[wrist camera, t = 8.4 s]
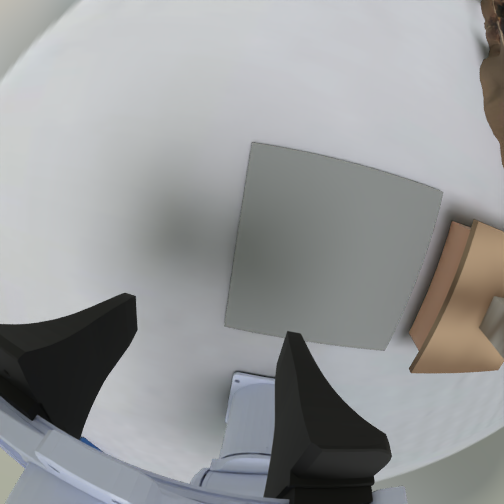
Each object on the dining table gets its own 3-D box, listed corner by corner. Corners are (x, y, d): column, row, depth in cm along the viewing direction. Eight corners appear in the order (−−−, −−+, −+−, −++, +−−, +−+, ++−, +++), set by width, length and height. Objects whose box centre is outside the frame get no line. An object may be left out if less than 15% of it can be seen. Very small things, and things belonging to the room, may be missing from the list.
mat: (383, 347, 23) (384, 350, 23) (225, 323, 24) (224, 326, 23) (440, 190, 18) (443, 192, 17) (253, 142, 18) (252, 142, 18)
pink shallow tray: (480, 338, 22) (496, 359, 18) (408, 332, 22) (423, 359, 19) (519, 247, 18) (542, 261, 14) (451, 220, 18) (478, 235, 15)
